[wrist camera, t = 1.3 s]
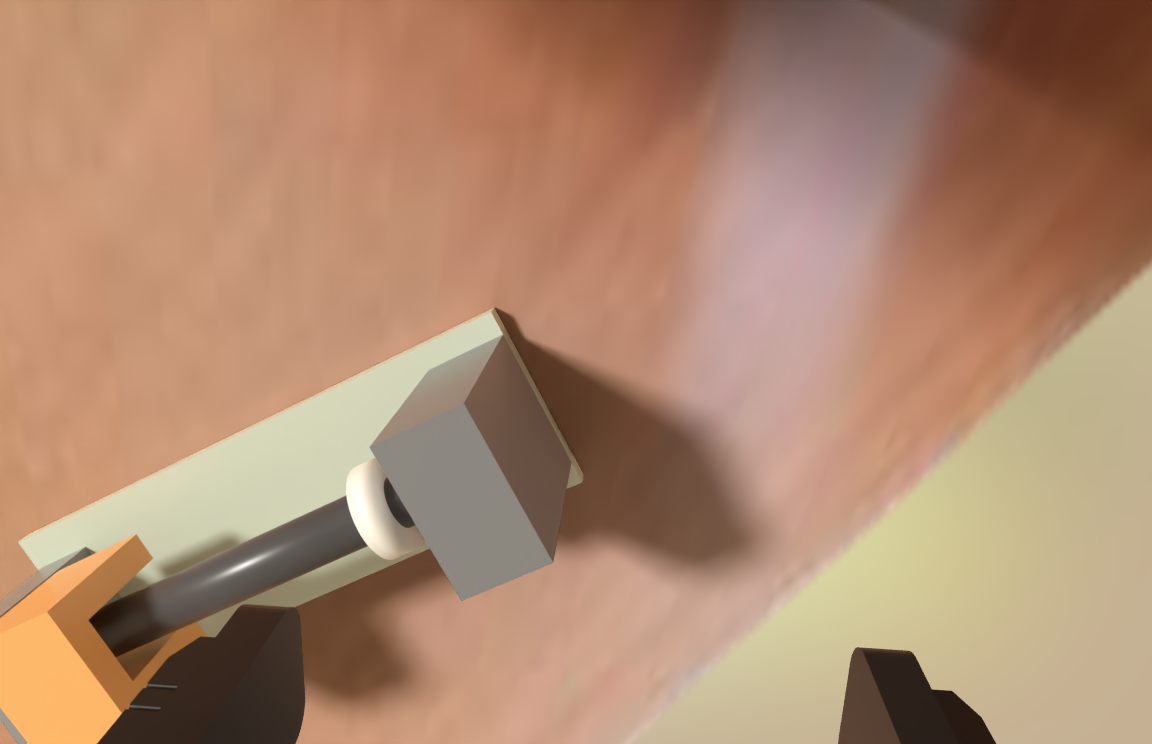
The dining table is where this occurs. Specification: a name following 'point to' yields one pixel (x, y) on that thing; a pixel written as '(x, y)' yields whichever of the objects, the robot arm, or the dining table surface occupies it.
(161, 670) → the robot arm
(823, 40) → the dining table surface
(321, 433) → the cord stand
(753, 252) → the dining table surface
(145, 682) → the marker sleeve
